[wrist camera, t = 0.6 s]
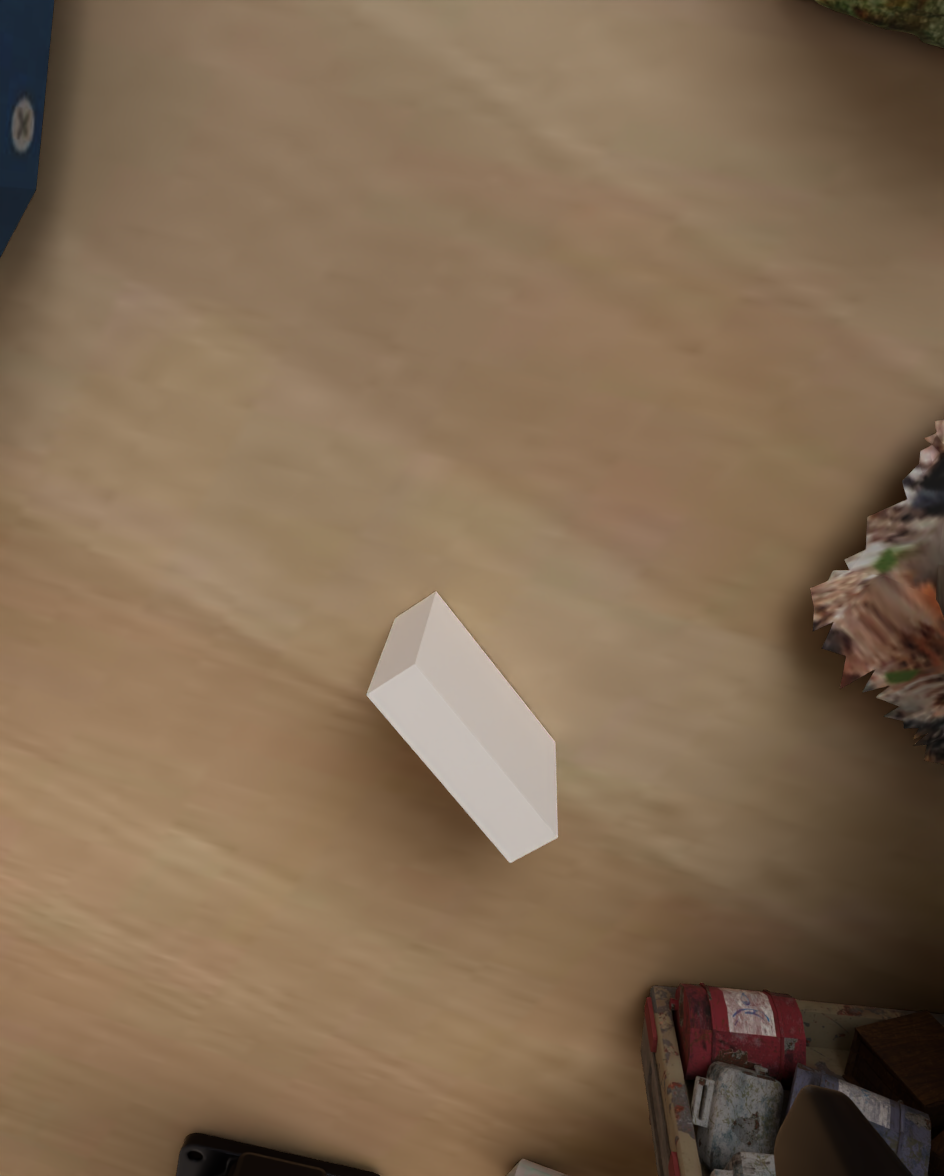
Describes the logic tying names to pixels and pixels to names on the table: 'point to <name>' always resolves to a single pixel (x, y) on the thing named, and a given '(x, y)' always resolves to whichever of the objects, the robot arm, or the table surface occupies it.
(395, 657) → the eraser
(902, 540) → the plant with pod
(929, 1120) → the toy vehicle
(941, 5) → the seashell
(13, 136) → the radio
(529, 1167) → the screw
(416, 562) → the table surface
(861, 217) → the table surface
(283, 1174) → the robot arm
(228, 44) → the table surface
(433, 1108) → the table surface
